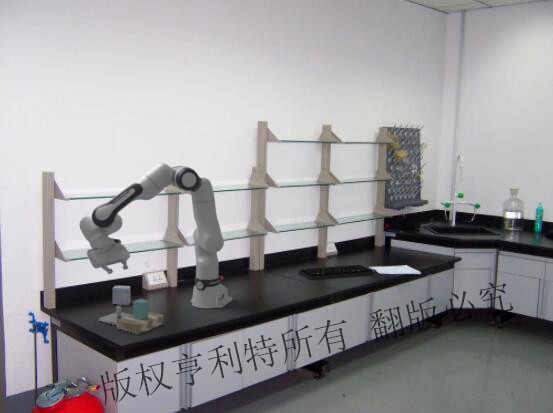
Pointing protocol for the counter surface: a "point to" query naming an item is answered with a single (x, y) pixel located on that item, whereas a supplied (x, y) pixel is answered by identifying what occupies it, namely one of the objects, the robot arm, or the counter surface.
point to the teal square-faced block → (140, 309)
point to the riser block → (140, 323)
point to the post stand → (114, 316)
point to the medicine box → (121, 295)
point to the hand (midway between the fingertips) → (118, 271)
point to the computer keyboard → (335, 272)
